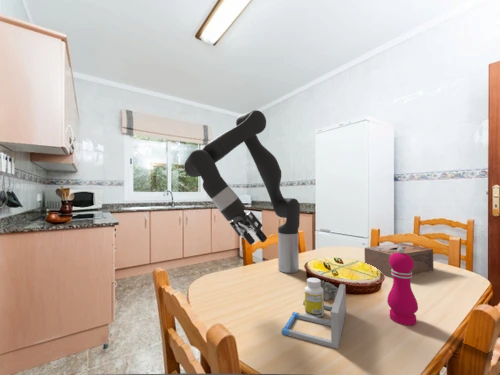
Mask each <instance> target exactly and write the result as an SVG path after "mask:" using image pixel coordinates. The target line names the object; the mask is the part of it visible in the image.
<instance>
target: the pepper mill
mask: <svg viewBox="0 0 500 375" xmlns="http://www.w3.org/2000/svg"><path fill="white" fill-rule="evenodd" d="M397 251H398V253H394V254H392V255H391V256H390V257H389V264H390V266H391V267H392V268H393V269H391V271H392V272H391V274H392V275H393V278H392V280H393V281H392V282H393V283H392V286H391V289H390V291H388V292H389V293H388V294H387V300H386V301H387V302H386V303H387V305H388V306H389V307H390V309H389V318H390V319H391V320H392V321H393V322H396V323H398V324H400V325H403V326H404V325H405V326H415V325H416V324H417V315H416V313H417V311H418V310H419V305H418V304H419V303H418V300H417V299H416V296H415V294H414V292H413V290H412V287H411V285H412V284H411V279H412V278H413V275H412V272H411V270H412V269H413V268H414V261H413V259H412V258H411V257H410V256H409V255H407V254H405V253H404V252H405V250H404V249H403V248H401V247H400V248H398V249H397Z"/></svg>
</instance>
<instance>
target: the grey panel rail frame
mask: <svg viewBox="0 0 500 375" xmlns="http://www.w3.org/2000/svg"><path fill="white" fill-rule="evenodd" d="M338 288H339V289H338V292H337V295H336V298H335V299H334V302H333V303H332V305H330V304H325V303H324V310H328V311H330V319H326V318H322V317H313V316H309V315H307V314H304V313H299V312H295V311H293V312H292V314H291V316H290V318H289V319H288V320H287V322H286V323H285V325H284V326H283V328H282V329H281V335H283V336H284V335H285V336H288V337H293V338H297V339H301V340H304V341H307V342H311V343H314V344H318V345H323V346H326V347H330V348H333V349H337V350H339V347H340V343H341V338H342V332H343V327H344V323H345V322H344V321H345V318H346V312H347V311H346V310H347V308H346V307H347V306H346V303H347V302H346V296H347V295H346V284H345V283H344V284H343V283H340V284H339V286H338ZM302 303H303V304H302V305H304V306H305V299H304V300H303V302H302ZM296 319H299V320H304V321H308V322H312V323H316V324H320V325H325V326H328V327H330V331H331V332H330V338H331V339H328V338H324V337H319V336H318V335H317V336H316V335H313V334H310V333H305V332H301V331H297V330H293V329H291V326H292V325H293V323H294V321H295V320H296Z"/></svg>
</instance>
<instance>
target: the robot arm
mask: <svg viewBox="0 0 500 375" xmlns="http://www.w3.org/2000/svg"><path fill="white" fill-rule="evenodd" d="M235 125H236V126H235V127H233V128H231V129H228V130H227V131H225V132H223V133H221V134H219V135H217V136H216V137H214V138H213V139H212V140H210V141H209V142H208V143H206V145H205V146H204V147H203V148H202V149H201V148H197V149H194V150H193V151H192V152H191V153H190V154H189V155H188V157H187V158H186V160H185V161H184V162H185V163H184V164H183V165H184V166H183V167H184V171H185V173H186V174H187V176H189V177H191V178H198V177H201V179H202V189H203V190H204V192H205V193H206V194H207V195H208V197H209V198H210V199H211V201H212V203H213V204H214V205H215V207H216V209H218V211H219V212H220V213H221V214H222V216H223V217H224V218H225V220H226V221H227V222H229V225H230V226H231V227H232V228H233V230H234V232H236V234H237V235H238V237H242V238H244V239H245V241H246V242H247V244H248V245H250V246H251V245H253V244H254V243H255V242H256V240H255V239H254V237H253V236H252V235H251V233H250V231H251V232H252V233H254V235H255V236H256V237H257V239H258V240H259V241H260V242H261V243H265V241H267V239H268V238H267V235H266V234H265V233H264V232H263V230H262V227H263V224H262V223H261V221H260V220H259V218H257V217H256V215H255V214H254V213H253V212H252V211H251V210H250V211H249V212H247V213H246V212H245V211H246V205H245V204H244V203H243V201H242V200H241V199H240V197H239V196H238V195H237V193H236V192H235V191H234V190H233V189H232V188H231V187H230V186H229V185H228V183H227V182H226V181H225V179H224V178H223V177H222V176H221V174H220V171H219V169H218V167H217V165H216V163H217V162H218V161H220V160H222V159H223V158H225V157H226V156H227V155H228V154H229V153H231V152H232V151H233V150H235V148H237V147H238V146H239V145H241V144H243V143H244V145H245V146H246V148H247V150H248V151H249V153H250V156H251V158H252V160H253V162H254V163H255V166H256V169H257V171H258V173H259V175H260V177H261V180H262V182H263V184H264V185H265V188H266V191H267V193H268V196H269V198H270V202H271V206H272V208H273V211H274V214H275V215H276V216H277V217H279V218H283V219H284V218H285V219H286V220H285V223H284V224H281V225H279V226H278V228H277V239H278V243H277V244H278V246H277V247H278V250H277V251H278V253H277V254H278V256H277V258H278V260H277V261H278V268H277V269H278V271H279V272H282V273H286V274H294V273H298V272H299V268H300V266H299V265H300V264H299V262H300V260H299V255H300V254H299V228H300V220H301V219H300V216H301V215H300V214H301V208H300V207H301V205H300V203H299V201H298V199H296V198H290V197H289V198H288V197H287V198H286V197H285V198H284V196H283V194H282V192H281V189H280V187H281V182H282V181H281V180H282V170H281V167H280V165H279V162H278V161H277V160H278V159H277V158H276V157H275V155H274V154H273V153H272V152H271V151H269V150H268V149H267V148H266V147H265V146H264V145H263V144H262V142H260V140H259V138H258V136H257V135H259V134H260V133H262V132H263V131H264V130H265V129H266V127H267V119H266V116H265V114H264V113H263V112H262V111H260V110H251V111H248V112H245V113H242V114H240V115H238V116H237V117H236V121H235Z"/></svg>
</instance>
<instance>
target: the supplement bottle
mask: <svg viewBox="0 0 500 375" xmlns="http://www.w3.org/2000/svg"><path fill="white" fill-rule="evenodd" d="M321 281H322V280H321V279H319V278H317V277H308V278H306V286H305V287H304V300H305V305H304V312H305V315H309V316H313V317H318V318H322V317H323V316H324V314H325V309H324V304H325V300H324V293H323V288H322V287H320V286H321Z"/></svg>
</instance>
